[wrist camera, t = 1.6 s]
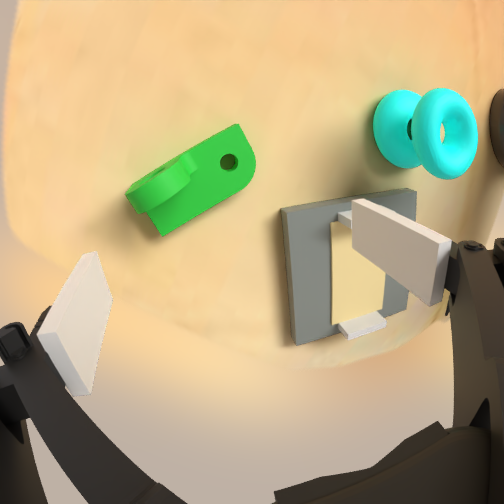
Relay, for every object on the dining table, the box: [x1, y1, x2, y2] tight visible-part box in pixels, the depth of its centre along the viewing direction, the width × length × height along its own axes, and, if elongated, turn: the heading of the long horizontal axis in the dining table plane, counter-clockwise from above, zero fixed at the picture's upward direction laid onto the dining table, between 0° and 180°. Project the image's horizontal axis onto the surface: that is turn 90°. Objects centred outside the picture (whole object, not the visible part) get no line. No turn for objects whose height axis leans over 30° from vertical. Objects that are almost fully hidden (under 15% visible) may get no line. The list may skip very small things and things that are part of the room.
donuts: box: [373, 88, 478, 180], centre depth 30 cm, size 10×10×10 cm
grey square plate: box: [281, 188, 417, 346], centre depth 38 cm, size 18×18×5 cm
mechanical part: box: [125, 124, 256, 237], centre depth 28 cm, size 12×6×8 cm, turn 118°
